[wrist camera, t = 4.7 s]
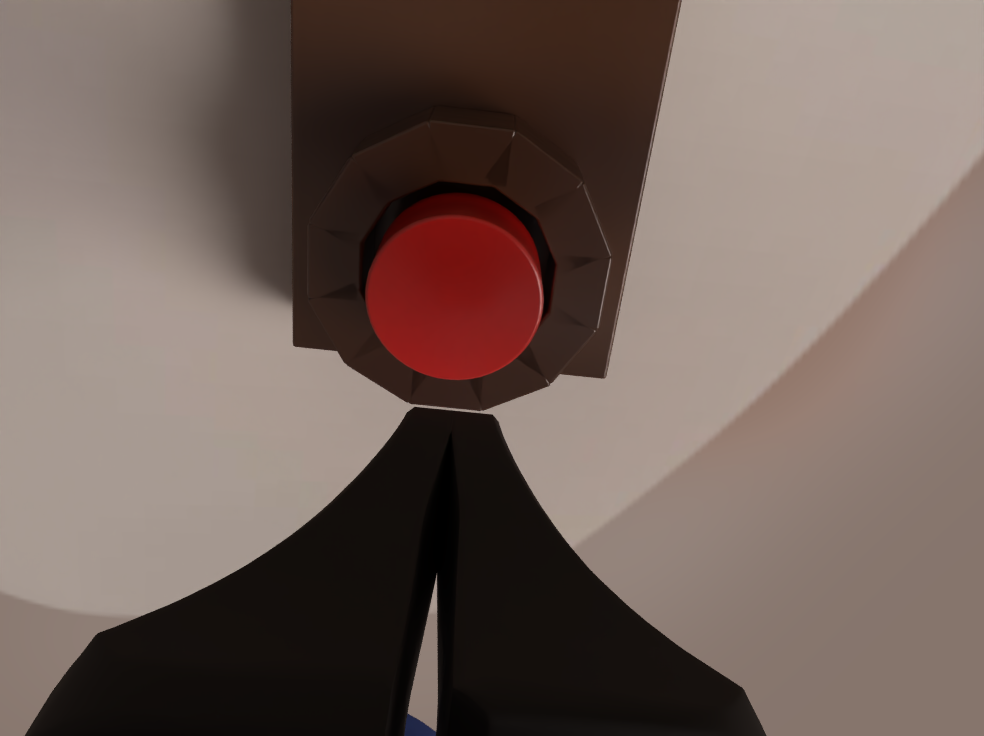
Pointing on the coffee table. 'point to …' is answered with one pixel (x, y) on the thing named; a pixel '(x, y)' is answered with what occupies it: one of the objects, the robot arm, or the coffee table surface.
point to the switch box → (473, 161)
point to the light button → (455, 287)
